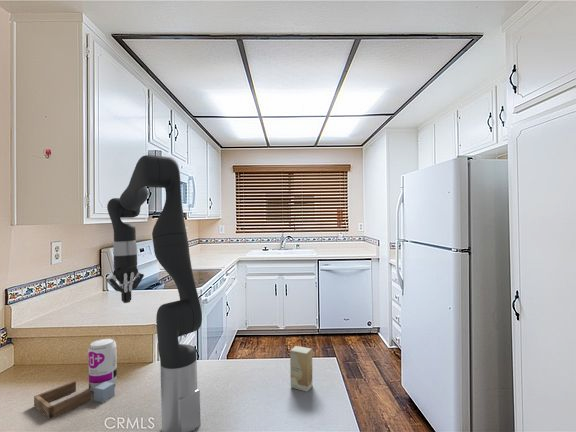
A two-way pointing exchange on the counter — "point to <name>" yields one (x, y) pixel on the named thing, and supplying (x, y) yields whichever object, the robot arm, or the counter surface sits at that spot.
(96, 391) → the slate-blue block
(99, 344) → the supplement can
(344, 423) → the counter surface
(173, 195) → the robot arm
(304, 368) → the skincare box
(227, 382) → the counter surface
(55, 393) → the frame
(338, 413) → the counter surface
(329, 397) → the counter surface
